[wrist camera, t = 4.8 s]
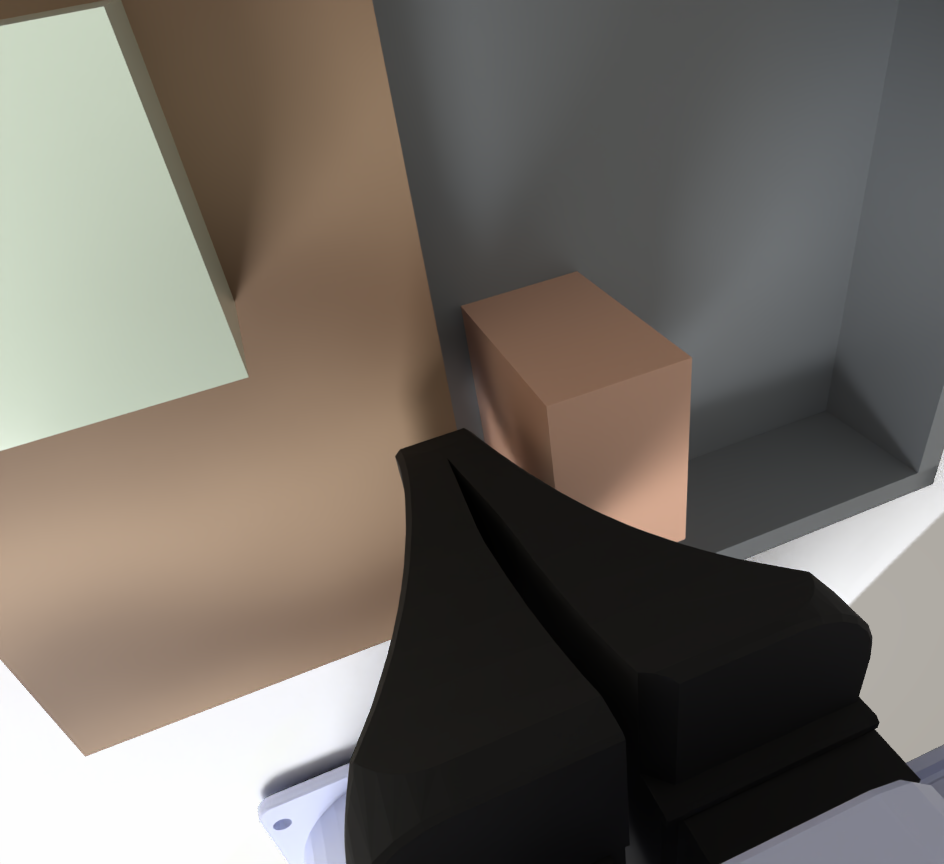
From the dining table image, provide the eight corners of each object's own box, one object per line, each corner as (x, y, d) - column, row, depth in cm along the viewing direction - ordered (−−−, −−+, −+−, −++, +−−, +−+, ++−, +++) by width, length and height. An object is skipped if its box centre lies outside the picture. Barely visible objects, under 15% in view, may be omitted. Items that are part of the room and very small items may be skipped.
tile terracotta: (488, 464, 16) (587, 430, 17) (565, 585, 13) (684, 538, 13) (460, 305, 14) (577, 271, 14) (546, 406, 11) (692, 357, 11)
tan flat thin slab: (462, 545, 18) (490, 600, 16) (93, 679, 16) (84, 756, 15) (283, -279, 9) (307, -330, 8) (-564, -176, 7) (-763, -214, 6)
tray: (827, 412, 20) (932, 483, 17) (462, 545, 18) (515, 650, 15) (967, -361, 11) (1227, -468, 8) (283, -279, 9) (332, -386, 6)
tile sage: (234, 302, 11) (249, 377, 9) (-48, 380, 10) (-103, 481, 8) (120, -3, 8) (104, 6, 6) (-259, 68, 8) (-411, 102, 6)
